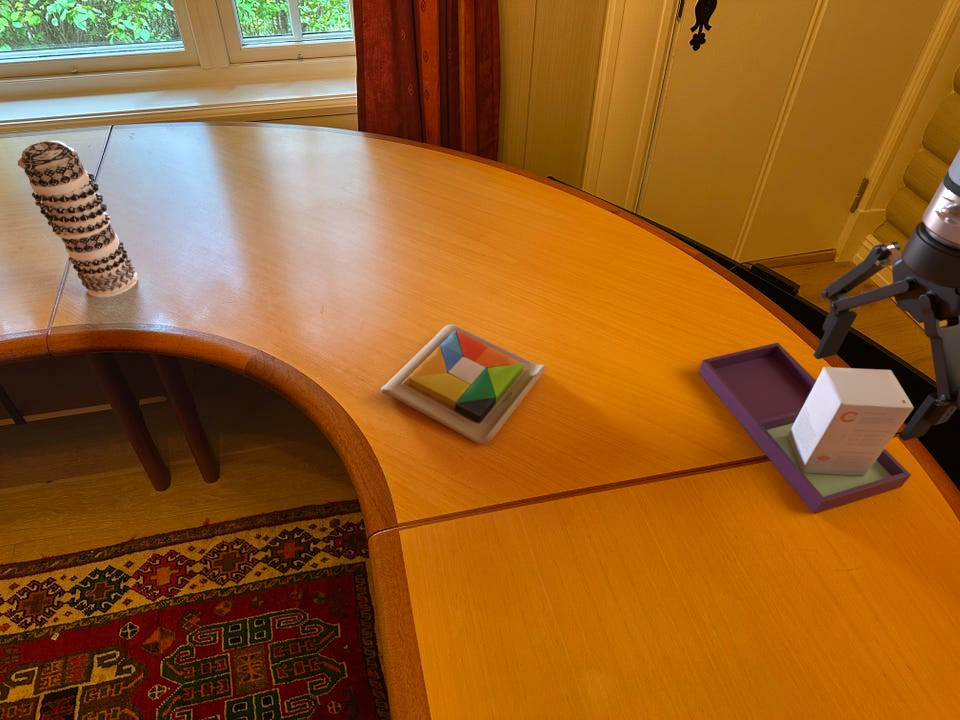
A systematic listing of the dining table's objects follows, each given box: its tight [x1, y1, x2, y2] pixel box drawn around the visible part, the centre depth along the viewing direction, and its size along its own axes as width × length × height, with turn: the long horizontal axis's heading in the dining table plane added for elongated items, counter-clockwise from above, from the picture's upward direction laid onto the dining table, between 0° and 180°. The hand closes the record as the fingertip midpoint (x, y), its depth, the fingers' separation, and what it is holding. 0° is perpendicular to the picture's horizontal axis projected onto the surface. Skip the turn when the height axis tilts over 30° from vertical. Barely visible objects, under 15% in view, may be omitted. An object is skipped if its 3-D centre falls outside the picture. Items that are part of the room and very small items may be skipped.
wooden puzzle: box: [380, 323, 547, 445], centre depth 88 cm, size 18×19×4 cm
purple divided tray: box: [698, 342, 912, 514], centre depth 83 cm, size 13×26×3 cm, turn 17°
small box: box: [788, 366, 914, 476], centre depth 75 cm, size 8×6×13 cm
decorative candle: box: [17, 140, 139, 298], centre depth 99 cm, size 9×9×25 cm
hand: (864, 393), depth 71 cm, fingers open, 13 cm apart
